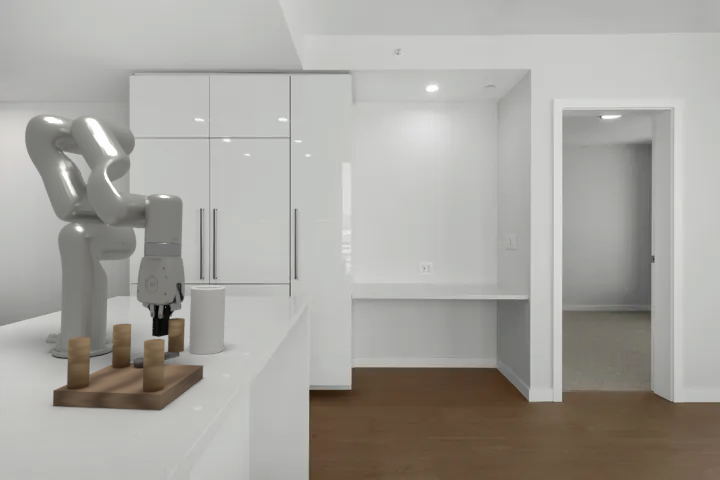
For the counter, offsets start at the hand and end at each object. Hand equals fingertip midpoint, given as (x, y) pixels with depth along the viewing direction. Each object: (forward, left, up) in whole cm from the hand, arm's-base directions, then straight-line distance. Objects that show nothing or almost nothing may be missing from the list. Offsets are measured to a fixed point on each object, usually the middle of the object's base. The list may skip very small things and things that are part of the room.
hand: (160, 335), depth 100 cm
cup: (+4, +16, -7) cm, 18 cm away
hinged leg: (+2, -5, -4) cm, 7 cm away
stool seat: (+3, -16, -7) cm, 18 cm away
